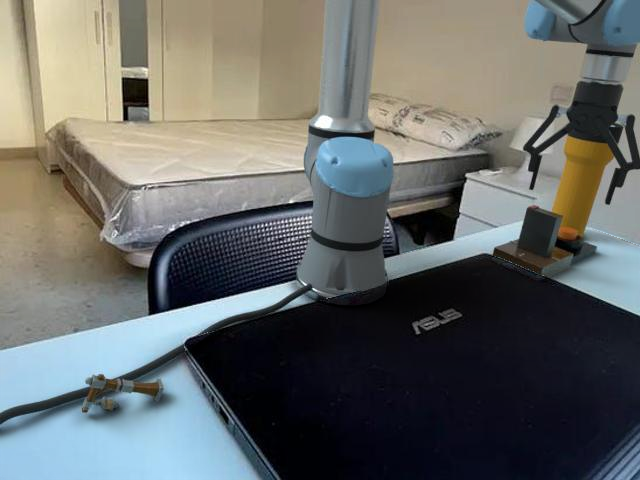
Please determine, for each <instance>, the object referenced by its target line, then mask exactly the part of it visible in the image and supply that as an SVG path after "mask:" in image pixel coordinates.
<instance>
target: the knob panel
mask: <svg viewBox="0 0 640 480" xmlns="http://www.w3.org/2000/svg"><path fill="white" fill-rule="evenodd" d="M518 240H519V238H516V239H514V240H510V241H509V242H505V243H503V244H500V245H497V246H494V247H493V250H492V255H493V256H496V257H500V258H502V259H505V260H507V261H510V262H512V263H514V264H517V265H519V266H522V267H524V268H526V269H529V270H531V271H534V272H536V273H538V274H540V275H544V276H545V277H547V278H546V279H548V278H550V277H553V276H555V275H557V274H559V273H561V272H564V271H566V270H567V269H570V267H571V265H572V264H571V261H572V258H573V255H574V254H572V253H570V252H567V251H565V250H562V249H559V248H557V247H554V249H553V252H552V255H550V256H548V257H543V256H541V255H538V254H536V253H533V252H531V251H529V250H526V249H524V248H521V247H519V246H517V244H518ZM570 264H571V265H570Z"/></svg>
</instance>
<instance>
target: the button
mask: <svg viewBox="0 0 640 480" xmlns="http://www.w3.org/2000/svg"><path fill="white" fill-rule="evenodd" d="M577 234H578V231H577V230H575V229H573V228H569V227H560V229H559V232H558V235H557V236H559V237H561V238H564V239H568V240H576V237H577Z"/></svg>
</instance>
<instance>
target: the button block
mask: <svg viewBox="0 0 640 480" xmlns="http://www.w3.org/2000/svg"><path fill="white" fill-rule="evenodd" d="M554 247H557V248H559V249H562V250H565V251H567V252H570V253H572V254H574V255H573V258H572V261H571V264H570V266H572V265H573V264H575V263H578V262H580V261H583V260H584V259H586V258H589V257H592V256H593V255H595V254H596V252H597V249H598V246H597V245H594V244H592V243H590V242H586V241H585V239H584V237H581V236H579V235H578V234H577V237H576V240H568V239H564V238H561V237H559V236H557V239H556V242H555V246H554Z"/></svg>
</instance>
